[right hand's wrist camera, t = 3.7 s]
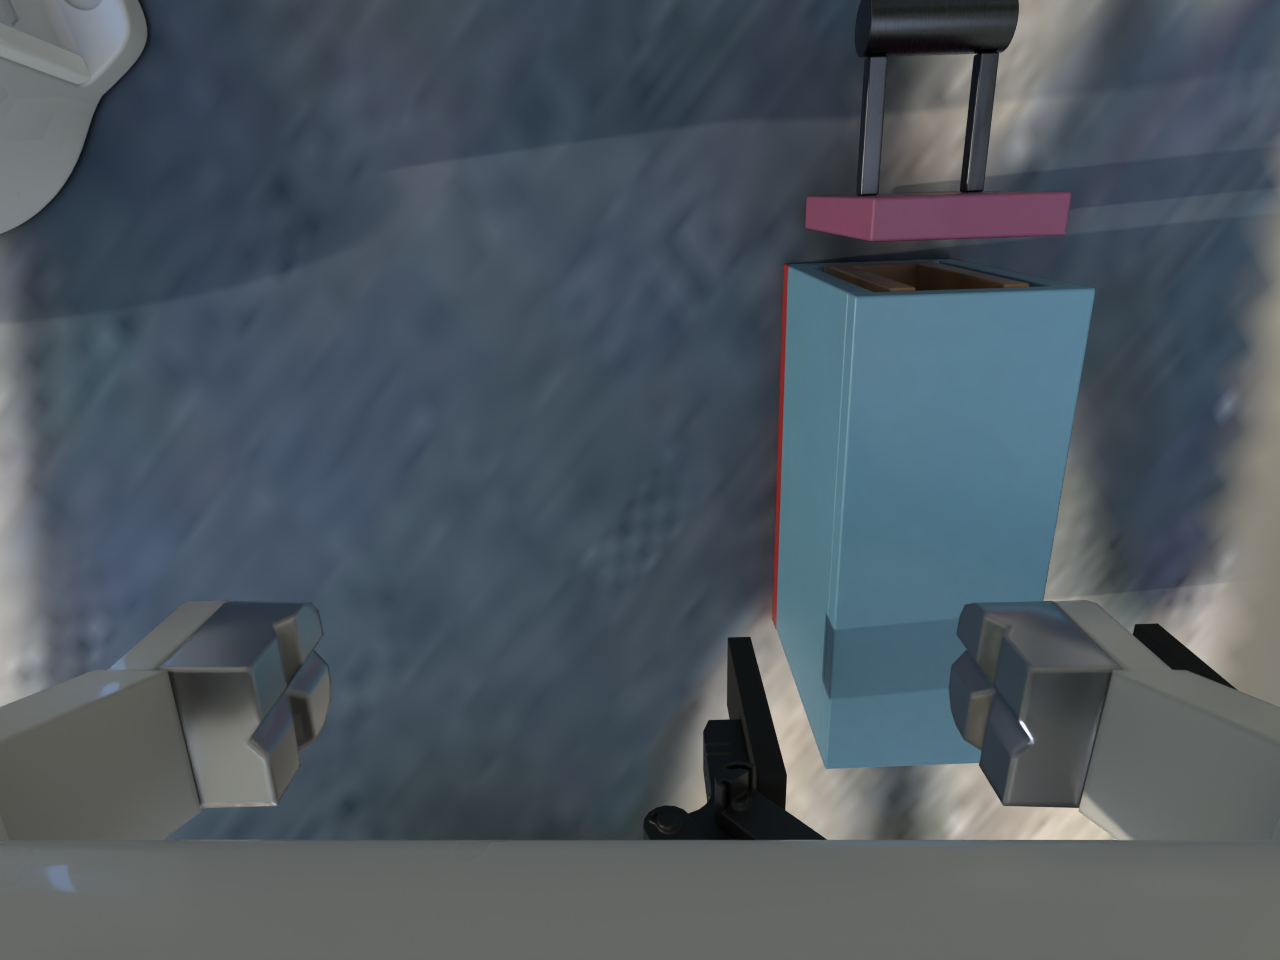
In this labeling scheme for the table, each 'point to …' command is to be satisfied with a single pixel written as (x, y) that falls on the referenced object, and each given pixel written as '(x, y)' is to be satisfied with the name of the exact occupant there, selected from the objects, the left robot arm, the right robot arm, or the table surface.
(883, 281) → the drawer
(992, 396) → the cabinet
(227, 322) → the table surface
